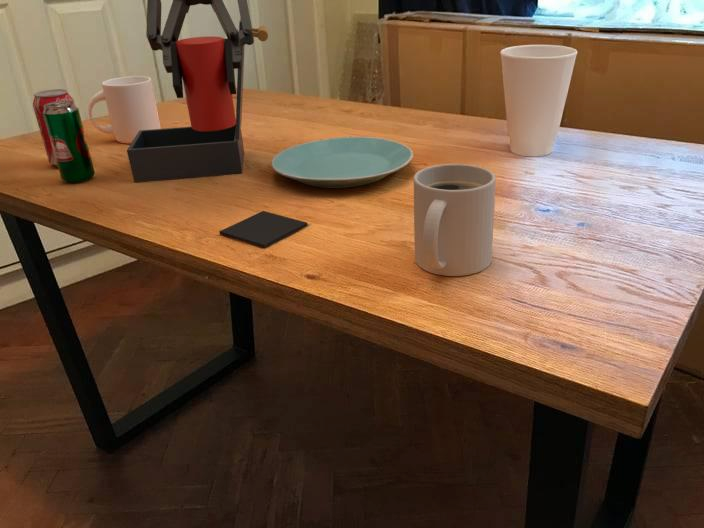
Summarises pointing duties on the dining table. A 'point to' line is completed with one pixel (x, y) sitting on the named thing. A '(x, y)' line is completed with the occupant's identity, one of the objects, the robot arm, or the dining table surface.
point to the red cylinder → (206, 83)
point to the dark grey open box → (185, 153)
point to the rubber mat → (263, 229)
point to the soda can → (68, 141)
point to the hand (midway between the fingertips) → (205, 89)
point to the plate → (342, 161)
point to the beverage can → (38, 106)
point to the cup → (535, 95)
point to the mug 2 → (454, 218)
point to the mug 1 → (127, 107)
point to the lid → (262, 36)
